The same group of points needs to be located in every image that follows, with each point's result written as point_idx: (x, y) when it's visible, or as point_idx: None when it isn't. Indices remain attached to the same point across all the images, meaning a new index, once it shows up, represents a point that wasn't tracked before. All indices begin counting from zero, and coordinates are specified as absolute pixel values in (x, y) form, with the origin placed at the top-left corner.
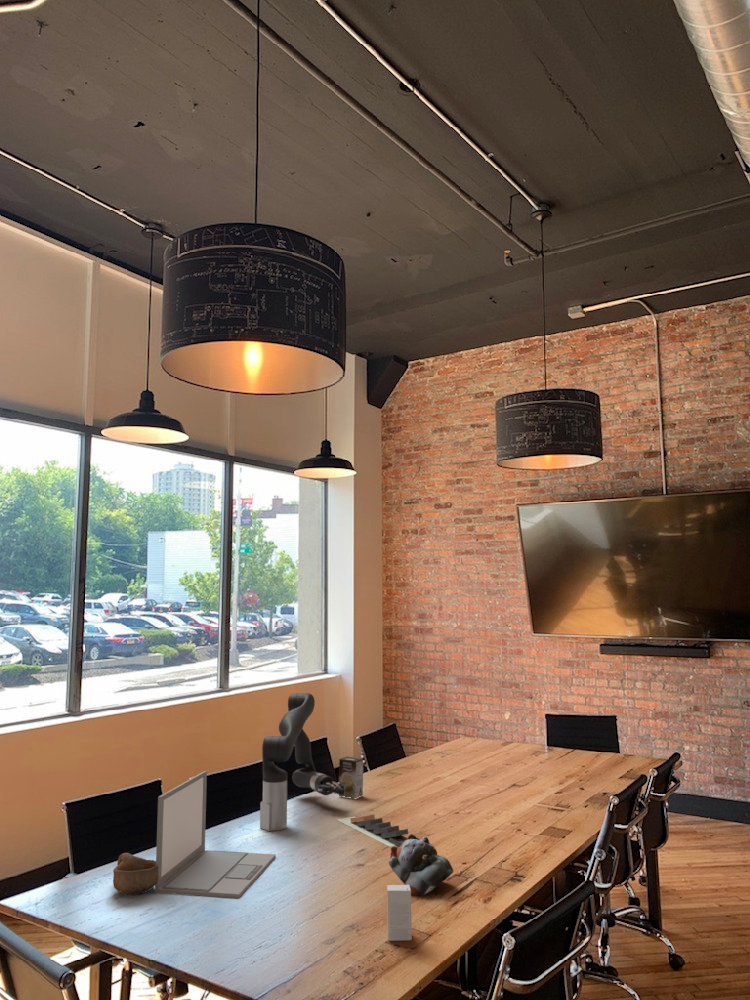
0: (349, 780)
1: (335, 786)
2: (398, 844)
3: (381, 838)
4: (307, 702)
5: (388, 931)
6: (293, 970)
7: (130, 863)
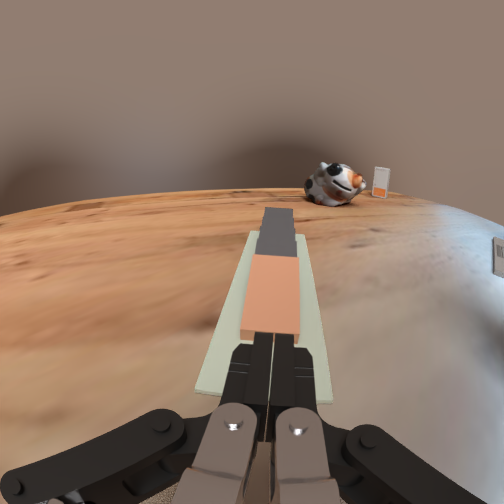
0: None
1: (240, 492)
2: None
3: None
4: None
5: (387, 192)
6: (438, 205)
7: None
